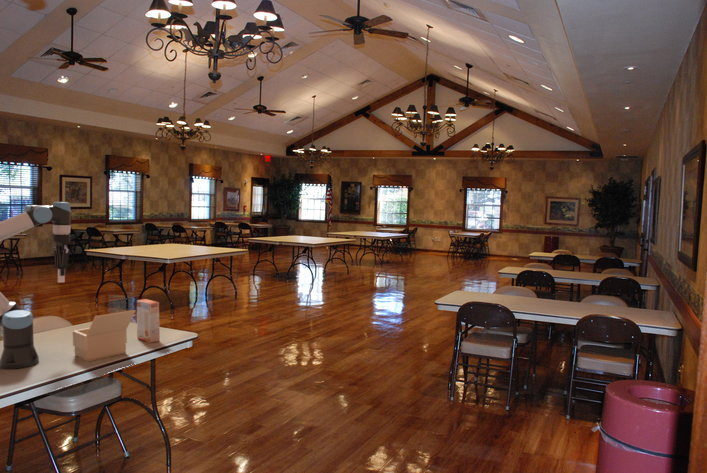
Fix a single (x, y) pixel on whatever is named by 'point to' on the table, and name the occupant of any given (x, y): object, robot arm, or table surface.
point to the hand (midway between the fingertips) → (61, 282)
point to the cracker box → (148, 320)
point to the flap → (110, 322)
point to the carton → (99, 344)
